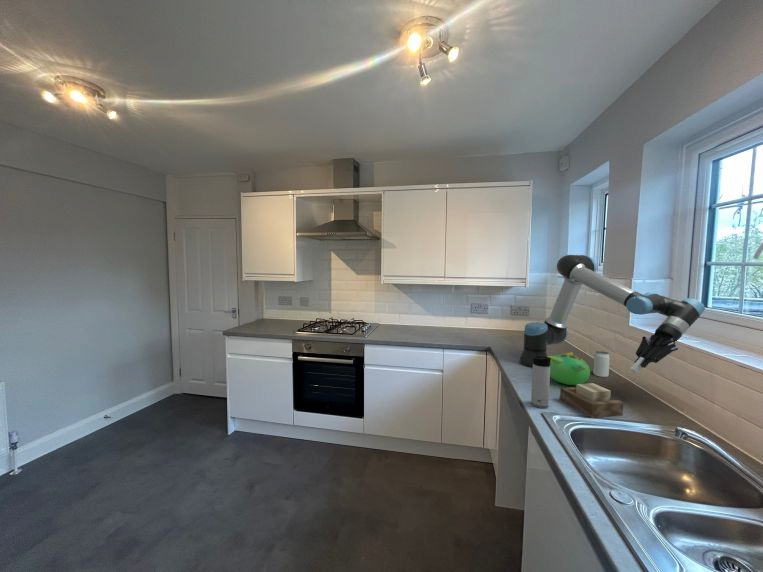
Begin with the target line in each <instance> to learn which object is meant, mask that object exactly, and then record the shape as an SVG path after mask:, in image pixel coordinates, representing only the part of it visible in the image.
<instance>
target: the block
mask: <svg viewBox="0 0 763 572" xmlns="http://www.w3.org/2000/svg"><path fill="white" fill-rule="evenodd" d="M575 387H576V394H578V395H580V396H582V397H584V398H586V399H588V400H590V401H591V402H601V401H611V396H612V395H611V393H612V392H611V390H610V389H608V388H605V387H602V386H600V385H599V384H596V383H592V382H591V383H582V384H576V385H575Z"/></svg>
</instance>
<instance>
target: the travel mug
mask: <svg viewBox="0 0 763 572" xmlns="http://www.w3.org/2000/svg"><path fill="white" fill-rule="evenodd" d="M550 360H551V358H549V357H543V356H537V357H533V367H532V373H531V374H532V377H531V393H530V394H531V396H530V404H531V405H532V406H533V407H534V408H539V409H547V408H549V400H550V383H551V382H550V380H551V376H550Z"/></svg>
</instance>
